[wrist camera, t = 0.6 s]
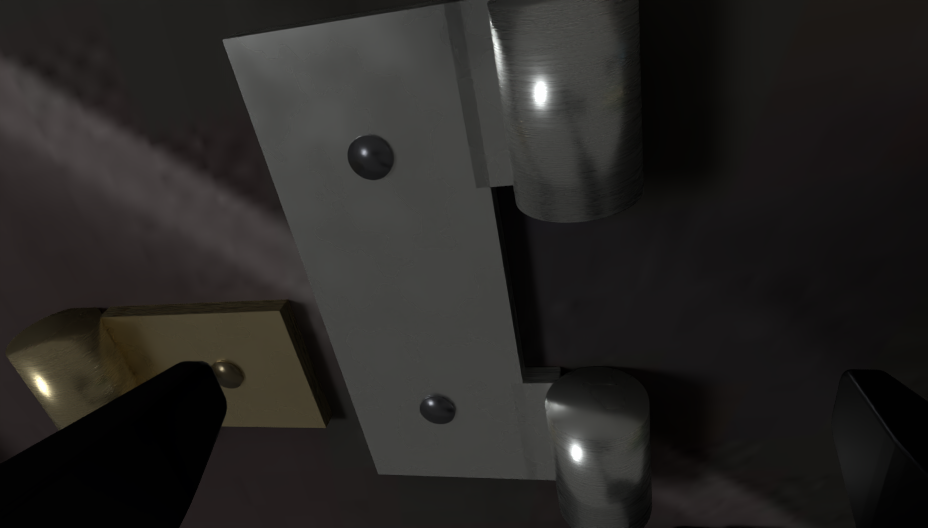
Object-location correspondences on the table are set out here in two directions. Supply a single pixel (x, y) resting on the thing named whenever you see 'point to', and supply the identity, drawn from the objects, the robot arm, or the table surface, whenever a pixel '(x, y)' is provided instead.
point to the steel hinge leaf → (459, 225)
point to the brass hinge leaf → (174, 359)
